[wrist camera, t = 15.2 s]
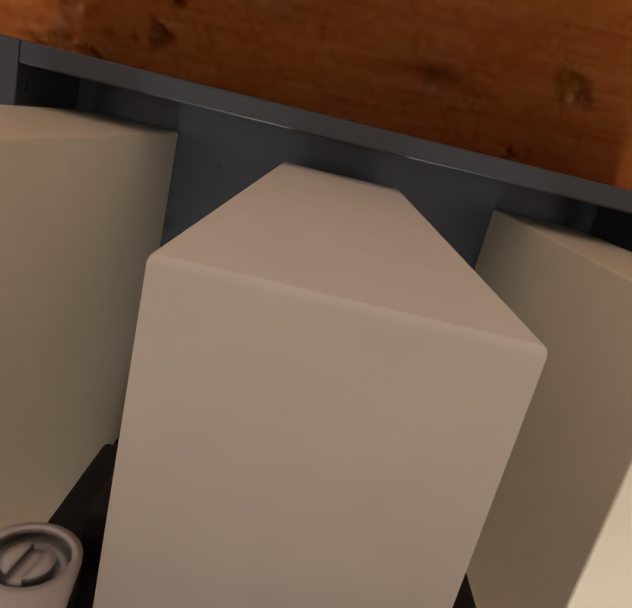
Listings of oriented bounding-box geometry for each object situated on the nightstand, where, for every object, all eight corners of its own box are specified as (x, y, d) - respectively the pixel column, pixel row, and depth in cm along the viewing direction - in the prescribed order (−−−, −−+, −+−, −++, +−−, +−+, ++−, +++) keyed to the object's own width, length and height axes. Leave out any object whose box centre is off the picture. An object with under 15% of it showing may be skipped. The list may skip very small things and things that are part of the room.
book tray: (34, 420, 24) (-36, 489, 20) (74, 53, 20) (-3, 33, 16) (488, 521, 25) (522, 611, 20) (614, 188, 21) (693, 206, 16)
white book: (215, 479, 20) (25, 1029, 8) (283, 161, 17) (145, 252, 5) (313, 502, 21) (277, 1076, 8) (399, 189, 17) (554, 350, 5)
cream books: (56, 400, 23) (-221, 674, 12) (91, 109, 20) (-244, 87, 8) (478, 495, 24) (614, 844, 12) (577, 228, 21) (885, 359, 9)
